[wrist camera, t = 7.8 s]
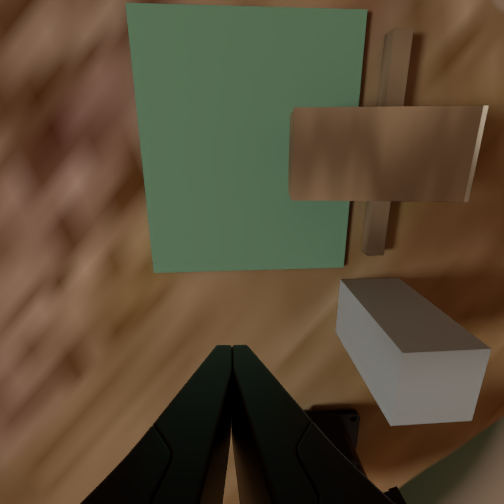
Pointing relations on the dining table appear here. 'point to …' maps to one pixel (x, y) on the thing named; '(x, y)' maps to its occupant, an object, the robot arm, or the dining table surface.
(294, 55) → the felt mat
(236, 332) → the dining table surface
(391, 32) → the batten
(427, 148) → the walnut block
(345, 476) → the robot arm
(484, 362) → the grey block
